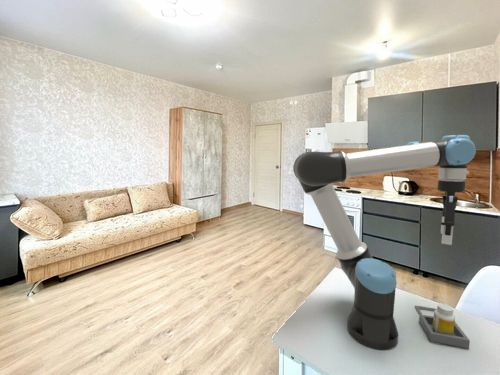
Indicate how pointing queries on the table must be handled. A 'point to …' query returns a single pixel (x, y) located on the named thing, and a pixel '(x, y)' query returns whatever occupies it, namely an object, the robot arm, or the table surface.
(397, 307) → the table surface
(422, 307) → the socket collar
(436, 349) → the table surface
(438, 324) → the supplement bottle
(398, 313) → the table surface
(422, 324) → the bin
